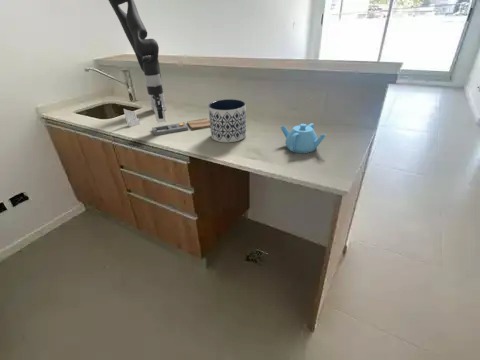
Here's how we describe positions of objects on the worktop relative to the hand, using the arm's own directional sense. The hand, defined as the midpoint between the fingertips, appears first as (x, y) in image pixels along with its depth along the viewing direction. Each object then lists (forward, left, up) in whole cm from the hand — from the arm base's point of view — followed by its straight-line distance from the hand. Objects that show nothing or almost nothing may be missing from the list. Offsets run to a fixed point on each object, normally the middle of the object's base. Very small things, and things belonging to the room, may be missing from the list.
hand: (160, 116), depth 144 cm
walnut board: (0, +21, -8) cm, 22 cm away
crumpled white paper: (-19, -14, -8) cm, 25 cm away
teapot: (+51, +55, -8) cm, 75 cm away
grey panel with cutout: (0, +4, -8) cm, 9 cm away
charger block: (0, 0, -2) cm, 2 cm away
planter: (+23, +30, -8) cm, 39 cm away
